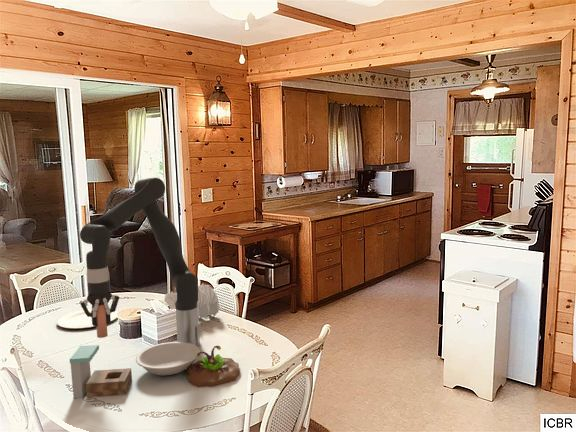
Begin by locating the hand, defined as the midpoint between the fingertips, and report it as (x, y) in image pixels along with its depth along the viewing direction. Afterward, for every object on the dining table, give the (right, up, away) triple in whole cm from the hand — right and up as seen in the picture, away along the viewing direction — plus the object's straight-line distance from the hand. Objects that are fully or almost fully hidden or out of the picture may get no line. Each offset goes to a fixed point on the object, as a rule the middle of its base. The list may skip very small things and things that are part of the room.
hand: (101, 324), depth 172 cm
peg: (0, -4, +1) cm, 4 cm away
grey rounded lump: (+22, -13, +64) cm, 69 cm away
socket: (+5, -22, -4) cm, 23 cm away
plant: (+40, -21, +6) cm, 46 cm away
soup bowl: (+22, -20, +10) cm, 32 cm away
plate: (-33, -14, +67) cm, 76 cm away
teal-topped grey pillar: (-3, -22, -5) cm, 23 cm away
